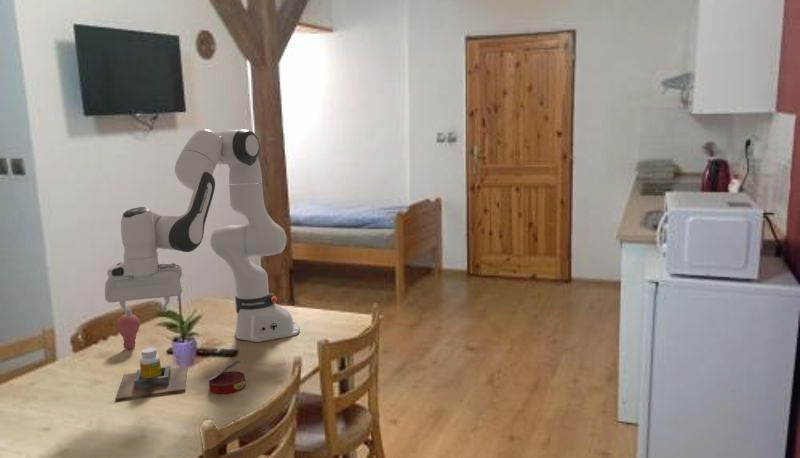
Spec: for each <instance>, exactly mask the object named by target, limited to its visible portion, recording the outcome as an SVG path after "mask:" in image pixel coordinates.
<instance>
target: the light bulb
mask: <svg viewBox="0 0 800 458" xmlns="http://www.w3.org/2000/svg"><path fill="white" fill-rule="evenodd" d="M140 325H141V323H140V320H139V318H138V316H136V315H135V314H133V313H132V316H126V315H125V314H122V315H120V317H119V318H118V319H117V321H116V329H117V331H118V333H119V334H120V335H121V336H122V340H123V348H124V349H127V350H131V349H134V348H135V347H136V339H137V334H138V332H139V328H140Z"/></svg>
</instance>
